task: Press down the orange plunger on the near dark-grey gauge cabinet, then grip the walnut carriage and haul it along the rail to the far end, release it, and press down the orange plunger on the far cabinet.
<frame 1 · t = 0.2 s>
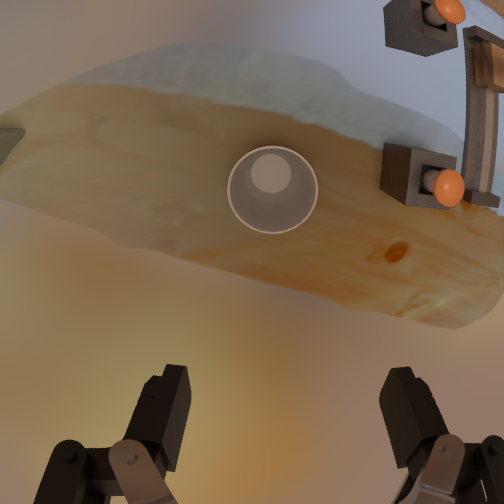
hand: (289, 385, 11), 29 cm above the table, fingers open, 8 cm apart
cabinet B: (402, 168, 35), on the table
carriage: (494, 68, 24), point 3 cm above the table, slide at 0.0 cm
cup: (270, 173, 36), on the table
rail: (480, 114, 30), on the table
plunger A: (441, 12, 18), point 10 cm above the table, slide at 0.0 cm
plunger B: (440, 184, 26), point 10 cm above the table, slide at 0.0 cm
cabinet A: (405, 31, 27), on the table
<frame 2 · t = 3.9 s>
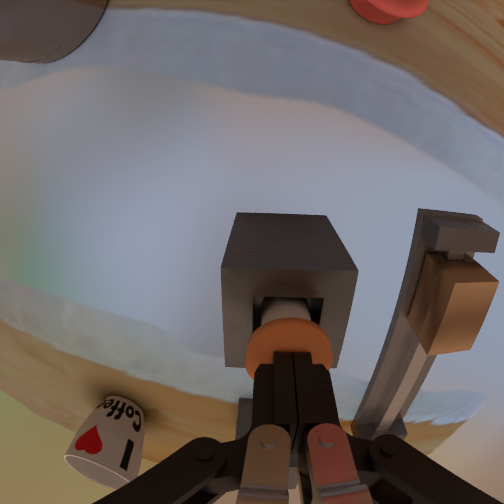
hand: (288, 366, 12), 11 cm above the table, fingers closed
cabinet B: (267, 415, 29), on the table
carriage: (451, 303, 19), point 3 cm above the table, slide at 0.0 cm
cup: (124, 407, 31), on the table
rail: (410, 345, 25), on the table
plunger A: (286, 331, 14), point 8 cm above the table, slide at 1.2 cm, touching gripper
cabinet A: (279, 254, 21), on the table
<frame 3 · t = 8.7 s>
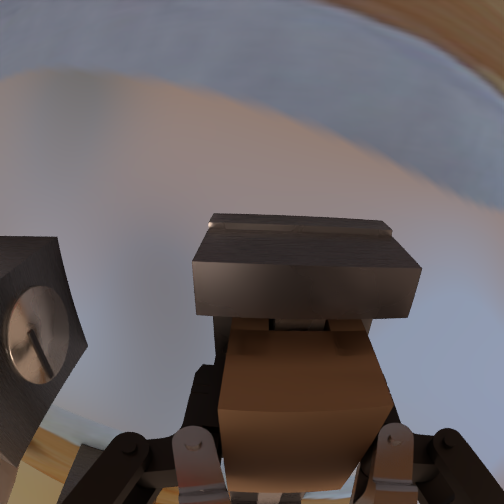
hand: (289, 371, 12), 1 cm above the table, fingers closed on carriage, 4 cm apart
cabinet B: (121, 467, 20), on the table
carriage: (292, 411, 10), point 3 cm above the table, slide at 0.0 cm, touching gripper
cup: (7, 426, 22), on the table
rail: (276, 433, 16), on the table
cabinet A: (29, 290, 12), on the table
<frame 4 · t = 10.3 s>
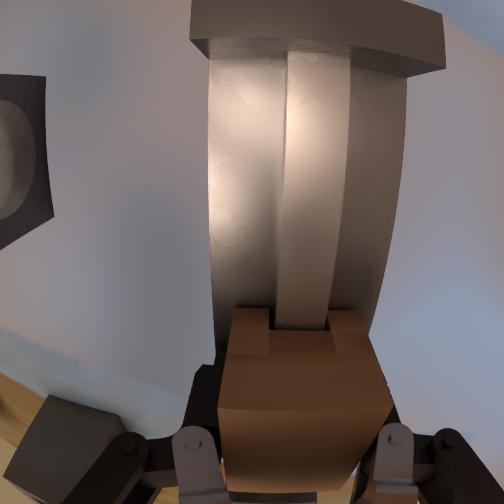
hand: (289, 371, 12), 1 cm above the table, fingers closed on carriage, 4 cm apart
cabinet B: (94, 429, 17), on the table
carriage: (292, 411, 10), point 3 cm above the table, slide at 6.9 cm, touching gripper
rail: (288, 352, 13), on the table
cabinet A: (3, 156, 10), on the table
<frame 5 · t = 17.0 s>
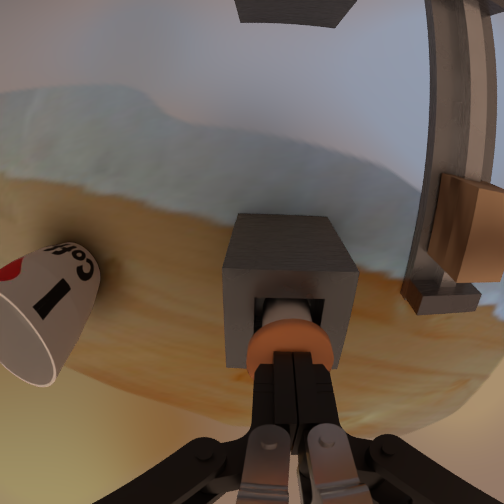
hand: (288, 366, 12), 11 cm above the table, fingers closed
cabinet B: (280, 255, 21), on the table
carriage: (474, 227, 16), point 3 cm above the table, slide at 12.9 cm
cup: (77, 268, 23), on the table
rail: (460, 136, 17), on the table
plunger B: (287, 332, 14), point 8 cm above the table, slide at 1.2 cm, touching gripper
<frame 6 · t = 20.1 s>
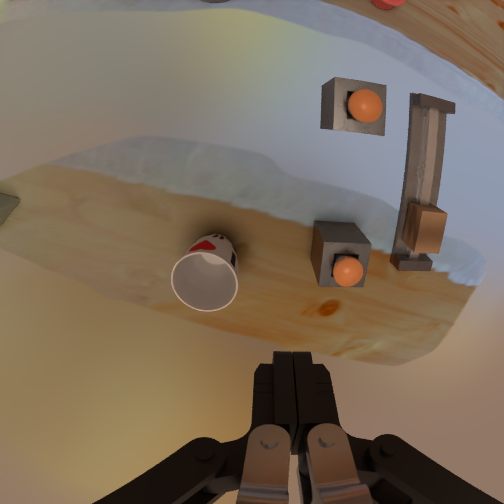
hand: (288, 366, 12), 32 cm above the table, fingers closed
cabinet B: (332, 241, 44), on the table
carriage: (424, 227, 38), point 3 cm above the table, slide at 12.9 cm
cup: (216, 249, 45), on the table
rail: (420, 182, 39), on the table
plunger A: (360, 106, 29), point 8 cm above the table, slide at 1.8 cm
plunger B: (344, 265, 36), point 8 cm above the table, slide at 1.8 cm
cabinet A: (343, 109, 36), on the table
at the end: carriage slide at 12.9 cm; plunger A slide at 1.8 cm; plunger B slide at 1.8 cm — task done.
